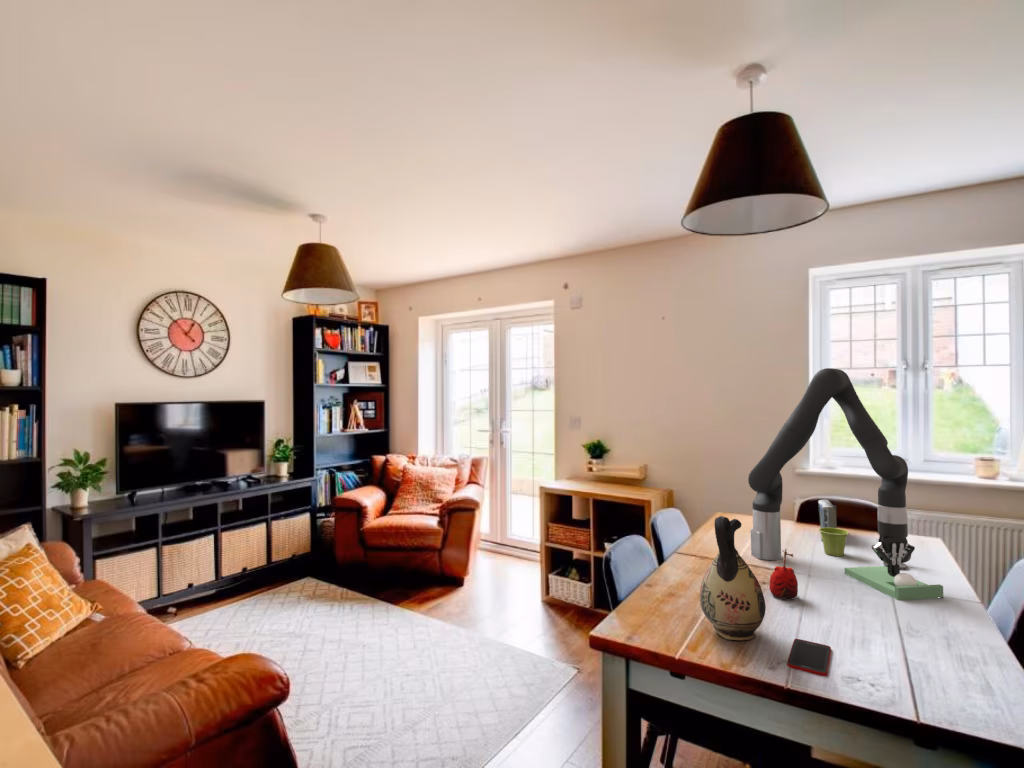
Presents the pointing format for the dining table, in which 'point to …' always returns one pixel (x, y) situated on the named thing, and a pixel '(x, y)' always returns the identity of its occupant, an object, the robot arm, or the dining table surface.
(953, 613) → the dining table surface
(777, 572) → the red clay folk toy
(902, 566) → the pocket watch
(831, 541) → the plant pot
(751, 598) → the ceramic jug
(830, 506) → the radio
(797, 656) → the cell phone
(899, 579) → the ball
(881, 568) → the green
